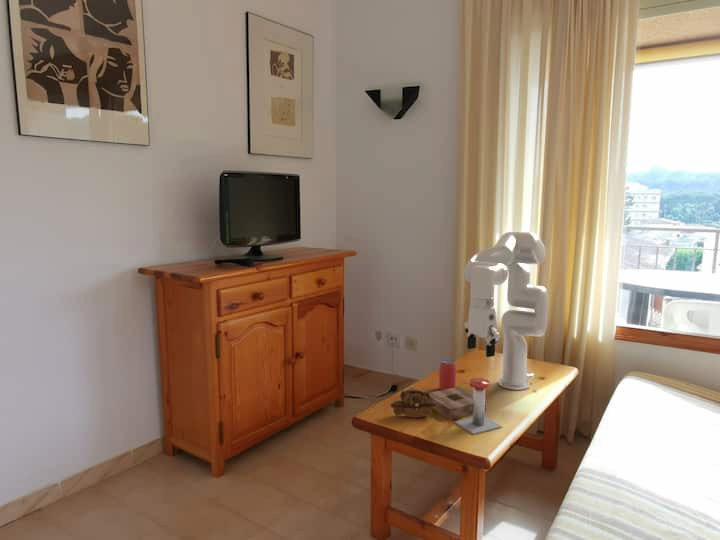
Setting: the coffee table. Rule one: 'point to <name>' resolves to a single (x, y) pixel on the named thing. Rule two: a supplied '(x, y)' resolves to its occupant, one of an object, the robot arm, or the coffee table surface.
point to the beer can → (447, 374)
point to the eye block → (453, 402)
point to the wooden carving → (413, 403)
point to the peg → (478, 399)
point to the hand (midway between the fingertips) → (480, 352)
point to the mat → (474, 429)
